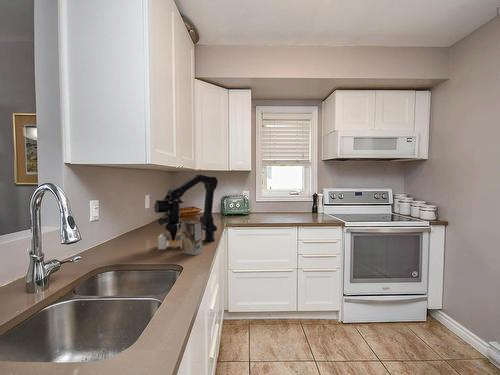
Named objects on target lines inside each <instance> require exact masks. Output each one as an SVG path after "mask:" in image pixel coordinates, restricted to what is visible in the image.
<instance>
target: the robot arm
mask: <svg viewBox="0 0 500 375" xmlns="http://www.w3.org/2000/svg"><path fill="white" fill-rule="evenodd" d="M199 183H203V186H204V189H205V196H204V197H205V198H204V208H203V214H202V216H199V222H202V231H204V238H203V242H215V241H216V240H215V239H216V238H215V232H217V231H218V227H217V225H215V224H214V223H215V222H214V217H213V215H212V213H213V205H214V204H213V203H214V194H215V190H216V189H217V186H218V179H217V177H216V176H207V175H204V174H195V175H194V176H193V177H192V178H189V180H187V181H185V182H183V183H182V184H180V185H179V186H174V187H173V188H170V189H168V190H167V194H166V195H165V197H164V198H163V199H161V200H160V199H157V200H155V203H154V205H153V208H154V213H156V214H162V213H168V214H167V215H166V216H164V217H163V216H160V217H159V218H158V219H157V221H158V222H157V223H158V225H159V226H162V225H164V224H166V225H165V226H164V228H165V230H166V231H168V232H169V234H170V235H171V238H172V241H174V240H175V237H176V234H177V232H178V233H179V232H180V229H181V228H182V222H183V219H181V217H180V215H181V212H180V211H181V210H180V204H184V201H183V200H182V199H181V198H182V197H183V196H184V194H185V193H186V192H187V191H188V190H190V189H192V188H193V187H194V186H196V185H197V184H199Z"/></svg>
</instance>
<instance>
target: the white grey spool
mask: <svg viewBox="0 0 500 375" xmlns="http://www.w3.org/2000/svg"><path fill="white" fill-rule="evenodd" d="M178 241H179V242H180V249H181V250H182V233H178V234H176V242H178ZM169 242H170V233H168V234H167V233H166V234H165V233H163V234H160V235H159V236H158V237H157V248H158V249H157V250H166V249H167V248H168V246H169Z"/></svg>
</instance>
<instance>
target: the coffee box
mask: <svg viewBox="0 0 500 375" xmlns="http://www.w3.org/2000/svg"><path fill="white" fill-rule="evenodd" d="M181 234H182V249H181V253H182V254H186V255H187V254H188V255H190V256H191V255H192V256H197V255H199V254H202V253H203V229H202V222H200V221H194V220H188V221H187V220H186V221H182V224H181Z"/></svg>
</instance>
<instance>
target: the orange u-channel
mask: <svg viewBox="0 0 500 375" xmlns="http://www.w3.org/2000/svg"><path fill="white" fill-rule="evenodd" d="M177 234H179V232H177ZM169 242H170V244H177V241H176V237H175V240H174V241H172V238H171V235H170V241H169Z"/></svg>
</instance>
